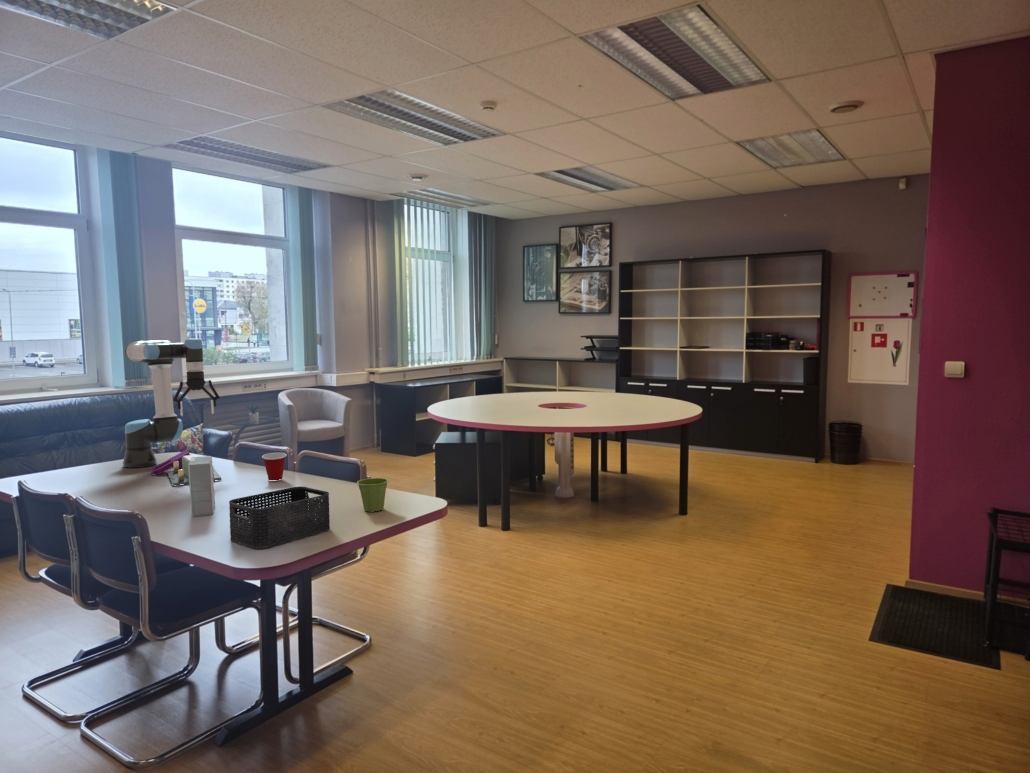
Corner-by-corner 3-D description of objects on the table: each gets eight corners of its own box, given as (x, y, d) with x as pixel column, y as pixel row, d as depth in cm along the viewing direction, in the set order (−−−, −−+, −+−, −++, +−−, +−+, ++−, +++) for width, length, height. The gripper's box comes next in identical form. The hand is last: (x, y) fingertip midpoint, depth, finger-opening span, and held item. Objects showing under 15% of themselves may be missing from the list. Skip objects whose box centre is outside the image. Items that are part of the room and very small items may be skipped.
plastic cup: (261, 483, 301) (260, 457, 300) (264, 478, 311) (263, 453, 310) (286, 482, 303) (285, 456, 302) (288, 477, 314) (287, 452, 313)
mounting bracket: (162, 487, 322) (197, 467, 331) (152, 473, 319) (188, 452, 328) (158, 483, 330) (193, 464, 339) (149, 469, 327) (184, 450, 336)
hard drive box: (193, 507, 262) (191, 457, 260) (215, 505, 264) (212, 455, 263) (190, 517, 247) (187, 464, 246) (213, 515, 250) (210, 462, 248)
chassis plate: (167, 474, 323) (166, 461, 322) (212, 469, 333) (211, 456, 333) (173, 486, 298) (172, 472, 297) (221, 480, 308) (220, 466, 308)
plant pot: (389, 505, 261) (388, 476, 260) (389, 513, 250) (389, 483, 249) (358, 507, 259) (357, 478, 258) (357, 515, 247) (356, 485, 246)
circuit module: (182, 472, 320) (181, 456, 319) (196, 470, 324) (195, 454, 323) (190, 478, 307) (189, 460, 307) (204, 476, 311) (203, 459, 310)
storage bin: (301, 520, 242) (299, 484, 241) (334, 530, 230) (333, 491, 229) (226, 540, 219) (224, 500, 218) (258, 552, 208) (256, 510, 206)
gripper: (166, 372, 311) (169, 417, 313) (224, 370, 324) (226, 413, 326) (165, 371, 318) (167, 415, 319) (221, 369, 331) (224, 411, 333)
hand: (197, 414), depth 323 cm, fingers open, 13 cm apart
